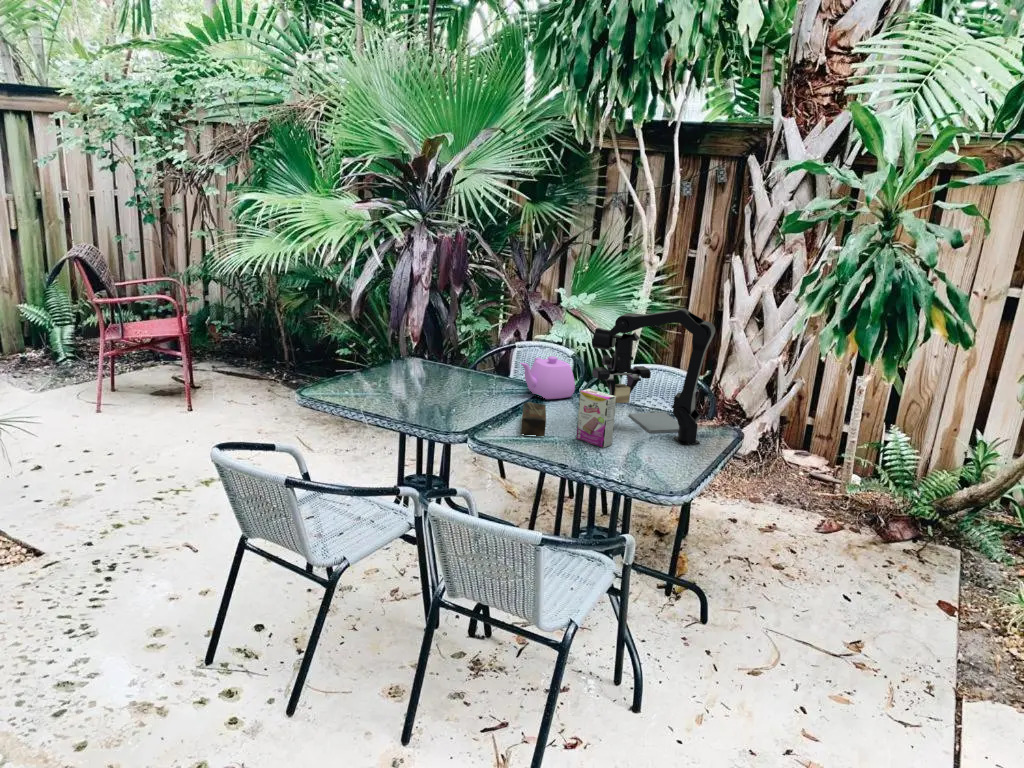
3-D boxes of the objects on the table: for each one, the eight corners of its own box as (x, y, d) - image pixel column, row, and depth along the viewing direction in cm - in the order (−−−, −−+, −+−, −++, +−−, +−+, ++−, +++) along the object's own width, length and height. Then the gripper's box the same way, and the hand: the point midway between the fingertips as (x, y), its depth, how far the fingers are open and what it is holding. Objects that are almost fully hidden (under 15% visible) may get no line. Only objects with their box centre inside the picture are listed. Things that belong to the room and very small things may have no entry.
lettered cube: (629, 402, 251) (630, 387, 250) (615, 403, 250) (616, 388, 249) (623, 398, 256) (624, 383, 255) (609, 398, 255) (610, 384, 253)
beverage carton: (545, 419, 262) (546, 401, 260) (545, 439, 243) (546, 419, 241) (522, 418, 262) (523, 400, 260) (520, 437, 243) (521, 418, 242)
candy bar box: (575, 439, 243) (578, 390, 239) (584, 436, 247) (588, 387, 242) (603, 449, 236) (607, 398, 232) (612, 445, 240) (617, 395, 235)
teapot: (552, 384, 305) (554, 348, 301) (580, 399, 287) (583, 360, 283) (501, 389, 294) (503, 352, 290) (528, 405, 276) (530, 365, 272)
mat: (687, 431, 256) (687, 428, 256) (649, 433, 253) (649, 430, 252) (664, 414, 273) (664, 412, 273) (628, 416, 269) (628, 413, 269)
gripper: (639, 346, 259) (635, 390, 263) (588, 347, 254) (584, 391, 258) (653, 353, 248) (649, 399, 252) (600, 354, 243) (596, 401, 248)
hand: (619, 397), depth 253 cm, fingers closed on lettered cube, 5 cm apart
